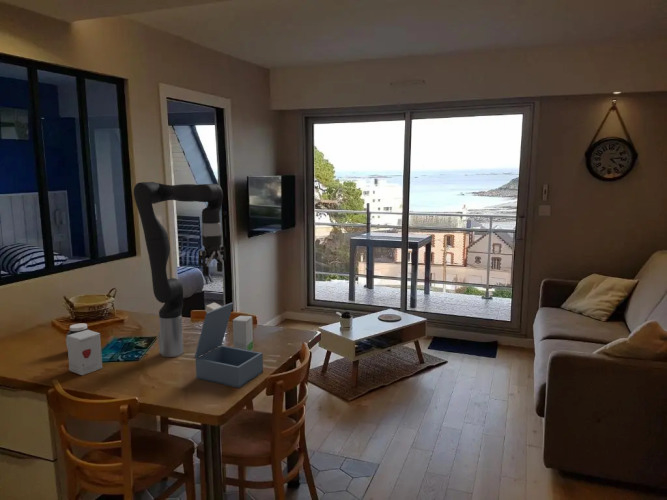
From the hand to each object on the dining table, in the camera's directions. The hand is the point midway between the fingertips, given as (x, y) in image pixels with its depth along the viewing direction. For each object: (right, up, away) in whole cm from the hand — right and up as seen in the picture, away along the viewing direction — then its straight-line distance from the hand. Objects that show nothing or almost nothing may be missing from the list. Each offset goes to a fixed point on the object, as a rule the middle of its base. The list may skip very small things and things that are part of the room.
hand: (213, 273), depth 193 cm
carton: (+8, -40, -7) cm, 41 cm away
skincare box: (+9, -36, +18) cm, 41 cm away
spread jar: (-63, -36, +17) cm, 75 cm away
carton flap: (+2, -22, -6) cm, 23 cm away
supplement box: (-51, -39, -1) cm, 64 cm away
